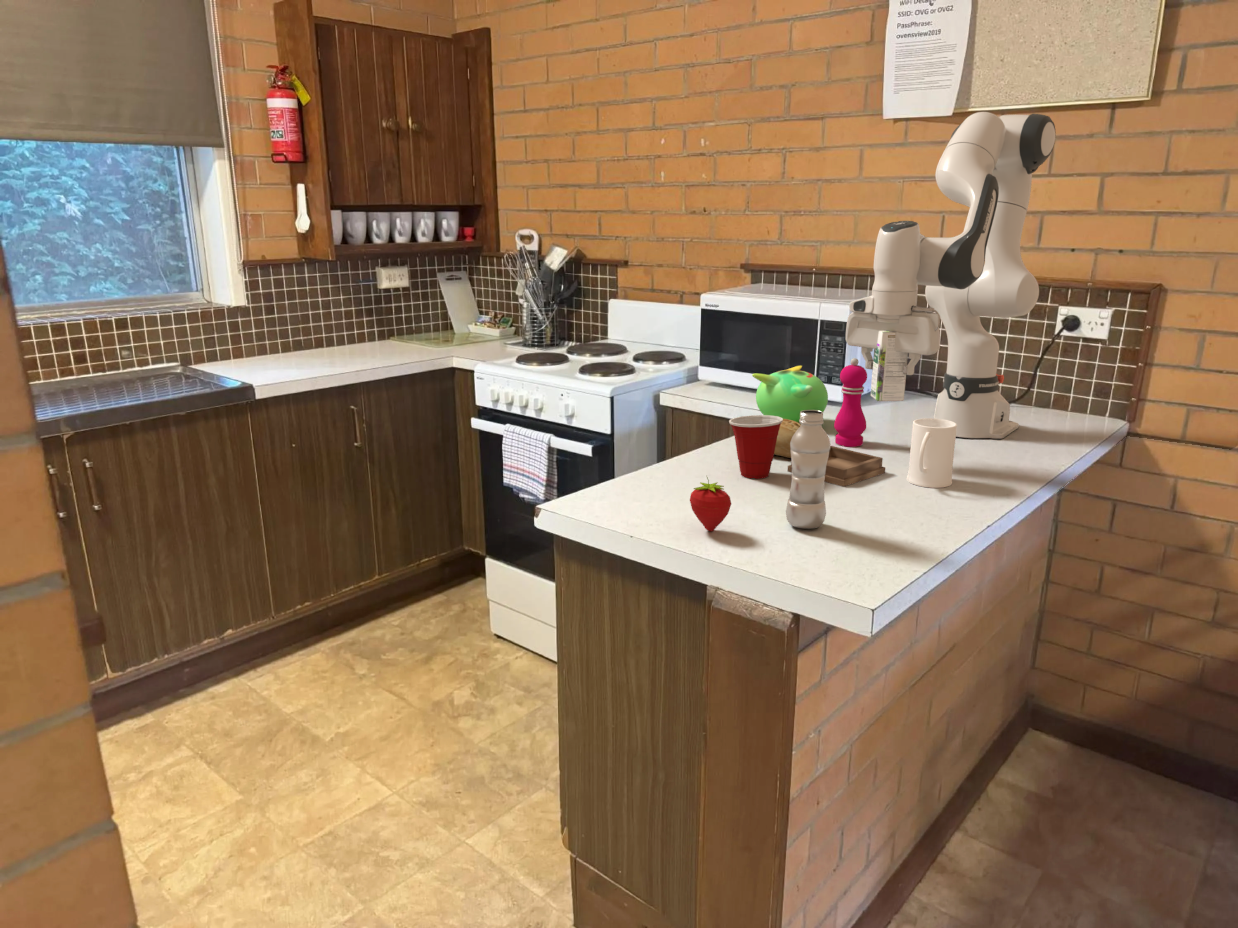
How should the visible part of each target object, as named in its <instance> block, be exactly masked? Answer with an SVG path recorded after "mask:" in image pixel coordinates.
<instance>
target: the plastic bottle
mask: <svg viewBox="0 0 1238 928" xmlns="http://www.w3.org/2000/svg"><path fill="white" fill-rule="evenodd" d="M799 423H800V424H801V426H800V427H799V429H798V430H797V431H796V432H795V434H794V435H793V437H792V439H791V442H790V448H791V458H790V460H791V461H792V472H791V483H790V491H789V496H788V500H787V504H786V509H785V515H786V521H787V522H788V523H789V525H790V526H792V527H794V528H798V529H802V530H803V529H805V530H807V529H810V530H811V529H812V530H813V529H816V528H819V527H821V526H822V525H823V524H824V522H825V520H826V516H827V510H826V509H827V507H826V501H825V482H824V480H825V472H826V465H827V460H828V456H829V450H830V446H832V445H831V440H830V437H829V435H828V433H827V432H826V430H825V429H824V428H823V426H822V425H823V424H824V412H822V411H818V410H803V411H801V412H800V419H799Z"/></svg>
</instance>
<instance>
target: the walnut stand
mask: <svg viewBox="0 0 1238 928" xmlns="http://www.w3.org/2000/svg"><path fill="white" fill-rule="evenodd" d="M883 460H884V459H883V457H880V456H877V455H871V454H868V453H862V452H859V451H856V450H855V451H854V450H850V449H847V448H844V447H843V448H842V447H837V446H834V445H830V450H829V456H828V460H827V465H826V472H825V480H824V483H829V484H832V485H836V486H839V487H843V488H844V487H847V486H850V485H854V484H856V483H859V482H862V481H865V480H868V479H871V478H875V477H878V476H880V475H884V474H885V473H886V467H885V466H883ZM790 463H791V464H789V465H787V472H790V473H792V461H791V462H790Z"/></svg>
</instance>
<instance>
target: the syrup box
mask: <svg viewBox="0 0 1238 928" xmlns="http://www.w3.org/2000/svg"><path fill="white" fill-rule="evenodd" d="M895 332H897V331H885V330H881V331H879V334H878V342H877V348H876V349H873V356H872V358H873V369H871V371H872V372H871V382H870V383H871V385H870V397H872V398H873V399H874V400H875V401H877V402H900V401H901V402H903V401H905V392H906V380H907V375H905V374H903V371H904V370H903V366H906V365H908V359H909V353H905V352H897V351H895V348H894V347H895Z"/></svg>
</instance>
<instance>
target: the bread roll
mask: <svg viewBox="0 0 1238 928" xmlns="http://www.w3.org/2000/svg"><path fill="white" fill-rule="evenodd" d="M800 426H801V424H799V423H798V422H795V421H793V420H789V419H783V421H782V423H781V425H780V428H779V432H778V436H777V441H776V446H775V451H774V456H775V455H776V456H781V457H785V458H789V459H791V448H790V442H791V439H792V437H793V435H794V434H795V432H796V431H797V430H798V429H799V427H800Z"/></svg>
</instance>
